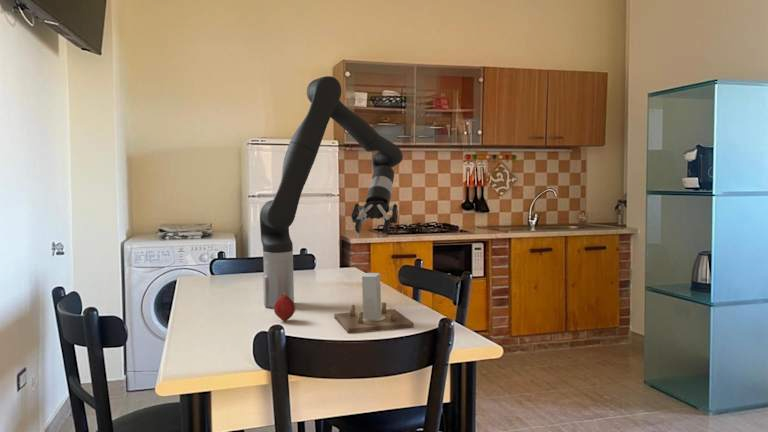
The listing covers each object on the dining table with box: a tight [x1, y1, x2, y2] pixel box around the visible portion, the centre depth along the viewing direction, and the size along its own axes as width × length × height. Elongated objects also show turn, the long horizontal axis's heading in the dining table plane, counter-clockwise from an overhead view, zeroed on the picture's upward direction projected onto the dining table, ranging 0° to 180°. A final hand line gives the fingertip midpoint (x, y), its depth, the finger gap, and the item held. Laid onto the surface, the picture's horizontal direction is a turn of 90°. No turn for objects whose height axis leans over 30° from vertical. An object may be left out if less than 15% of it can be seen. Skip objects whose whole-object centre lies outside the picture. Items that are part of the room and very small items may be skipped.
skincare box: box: [361, 272, 382, 320], centre depth 172 cm, size 6×4×12 cm
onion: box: [273, 293, 296, 322], centre depth 175 cm, size 6×6×8 cm
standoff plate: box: [333, 302, 415, 334], centre depth 172 cm, size 18×18×4 cm
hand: (371, 231), depth 191 cm, fingers open, 8 cm apart
